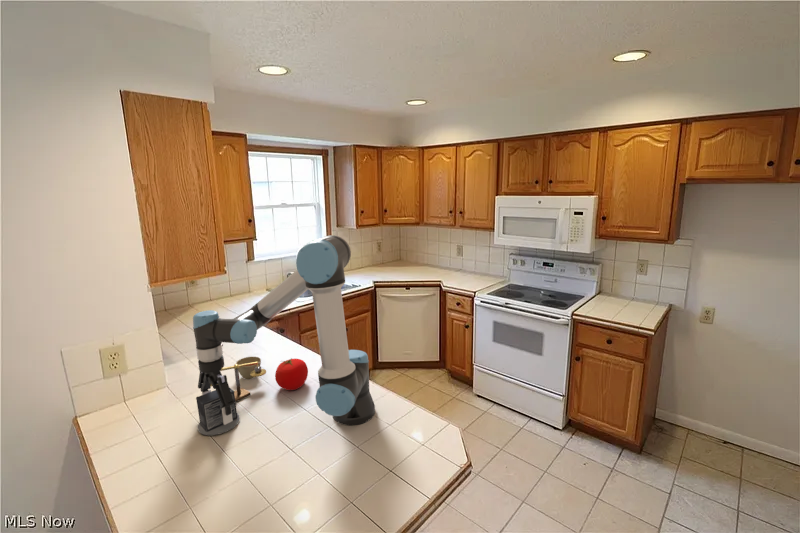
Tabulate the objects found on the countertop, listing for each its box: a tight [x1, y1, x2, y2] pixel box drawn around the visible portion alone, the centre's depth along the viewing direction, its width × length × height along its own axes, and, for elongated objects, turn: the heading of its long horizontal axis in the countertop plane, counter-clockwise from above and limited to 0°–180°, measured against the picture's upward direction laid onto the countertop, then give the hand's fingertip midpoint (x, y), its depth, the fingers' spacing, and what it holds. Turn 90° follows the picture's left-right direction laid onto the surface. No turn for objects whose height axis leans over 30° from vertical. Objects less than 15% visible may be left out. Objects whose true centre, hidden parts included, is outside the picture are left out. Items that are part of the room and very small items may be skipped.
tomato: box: [274, 357, 309, 391], centre depth 154 cm, size 12×14×11 cm
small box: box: [195, 386, 238, 432], centre depth 129 cm, size 11×6×10 cm, turn 136°
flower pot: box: [235, 356, 262, 381], centre depth 163 cm, size 10×10×7 cm
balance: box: [210, 362, 267, 403], centre depth 147 cm, size 6×24×15 cm, turn 142°
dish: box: [197, 412, 241, 437], centre depth 130 cm, size 13×13×1 cm
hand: (218, 415), depth 130 cm, fingers open, 13 cm apart
